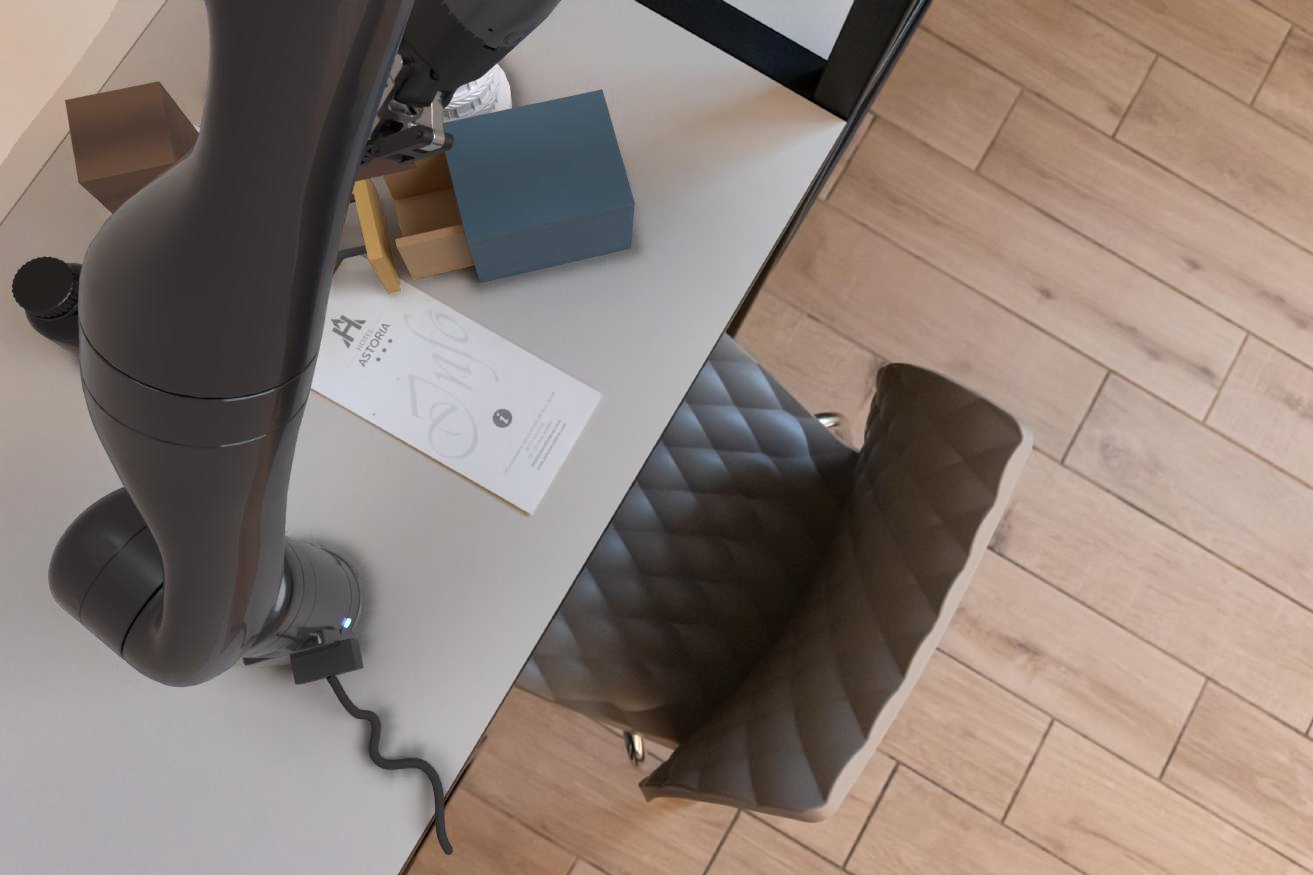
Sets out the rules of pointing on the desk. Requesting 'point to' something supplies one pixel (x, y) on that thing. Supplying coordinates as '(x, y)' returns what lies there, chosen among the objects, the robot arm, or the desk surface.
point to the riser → (126, 139)
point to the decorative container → (480, 97)
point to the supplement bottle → (50, 299)
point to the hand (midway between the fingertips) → (341, 130)
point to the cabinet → (540, 185)
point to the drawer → (413, 223)
